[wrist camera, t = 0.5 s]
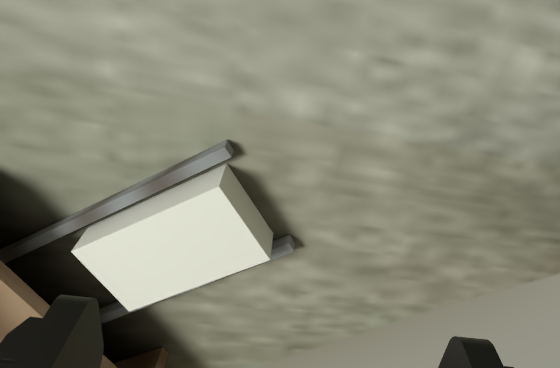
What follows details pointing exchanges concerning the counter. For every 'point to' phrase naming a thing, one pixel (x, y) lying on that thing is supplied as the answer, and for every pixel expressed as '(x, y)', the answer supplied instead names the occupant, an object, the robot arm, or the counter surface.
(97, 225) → the cream rectangular block
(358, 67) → the counter surface
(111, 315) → the overhang
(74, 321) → the robot arm
